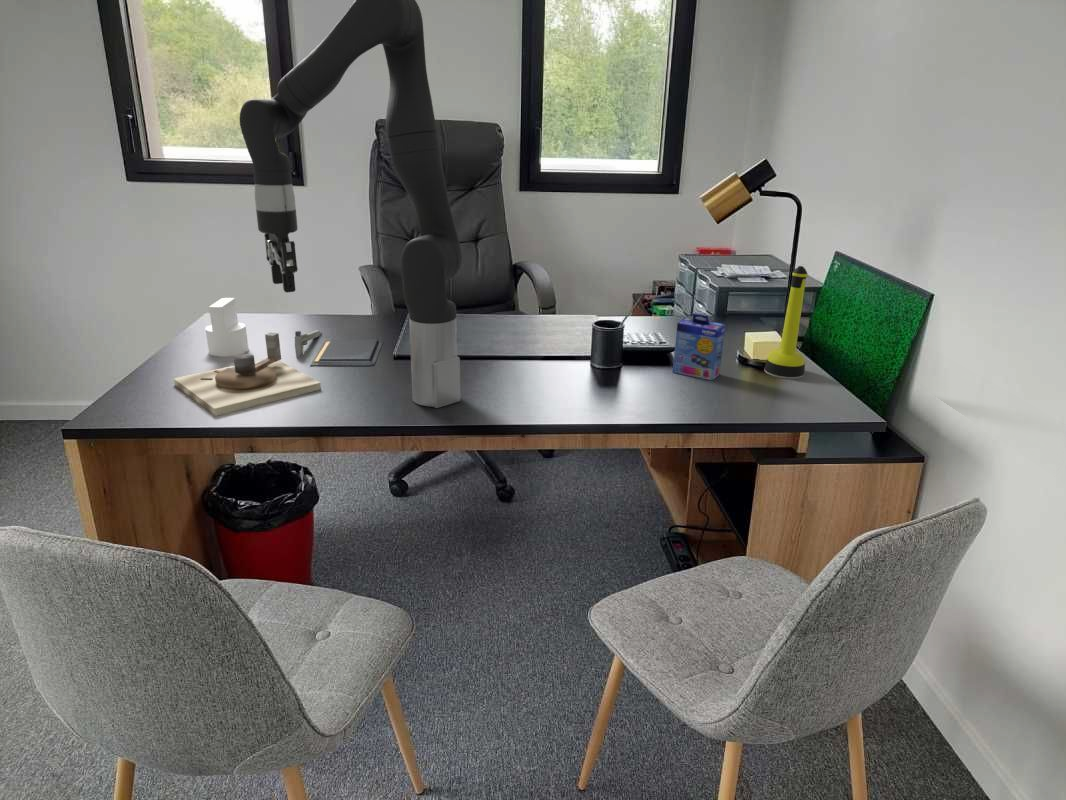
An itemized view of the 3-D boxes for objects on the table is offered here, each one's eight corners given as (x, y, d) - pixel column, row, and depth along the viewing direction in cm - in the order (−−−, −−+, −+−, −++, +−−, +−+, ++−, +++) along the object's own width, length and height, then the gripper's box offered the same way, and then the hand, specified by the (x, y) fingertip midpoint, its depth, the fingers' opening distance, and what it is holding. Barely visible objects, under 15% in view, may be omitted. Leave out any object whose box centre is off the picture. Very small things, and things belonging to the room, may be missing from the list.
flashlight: (829, 270, 155) (812, 262, 163) (789, 269, 155) (774, 261, 163) (810, 378, 164) (795, 366, 173) (772, 378, 164) (758, 366, 172)
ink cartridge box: (671, 373, 166) (677, 312, 161) (679, 366, 170) (685, 307, 165) (712, 381, 161) (720, 319, 156) (720, 374, 166) (727, 313, 160)
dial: (253, 391, 144) (248, 358, 141) (202, 384, 147) (197, 352, 144) (301, 365, 159) (298, 335, 157) (254, 359, 162) (251, 330, 160)
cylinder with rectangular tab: (216, 345, 178) (209, 297, 174) (253, 345, 179) (247, 298, 174) (202, 356, 170) (195, 306, 165) (241, 356, 170) (234, 307, 166)
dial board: (320, 389, 151) (320, 381, 151) (215, 415, 137) (214, 407, 136) (274, 363, 166) (273, 356, 165) (174, 385, 152) (173, 377, 151)
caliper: (300, 359, 170) (298, 333, 168) (296, 359, 170) (293, 333, 168) (321, 334, 190) (319, 310, 187) (317, 334, 190) (315, 310, 187)
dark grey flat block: (373, 361, 165) (306, 361, 164) (373, 369, 166) (307, 369, 165) (385, 336, 184) (325, 336, 183) (386, 343, 184) (326, 343, 183)
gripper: (305, 211, 139) (312, 293, 145) (285, 202, 150) (292, 279, 157) (265, 212, 136) (274, 296, 142) (248, 203, 147) (257, 282, 153)
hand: (283, 287), depth 149 cm, fingers open, 8 cm apart
